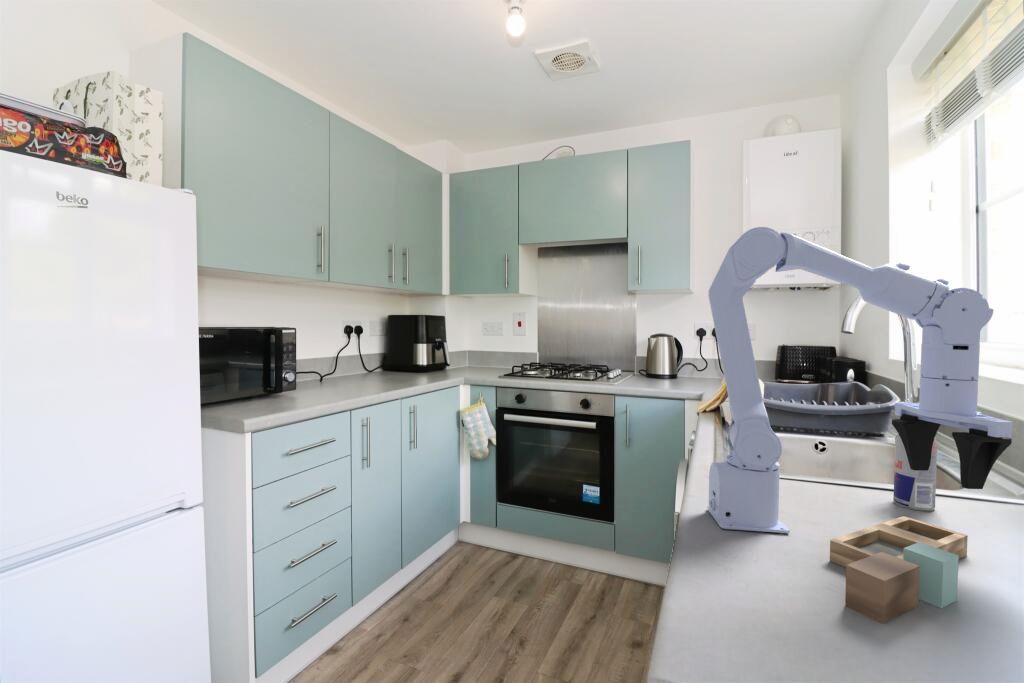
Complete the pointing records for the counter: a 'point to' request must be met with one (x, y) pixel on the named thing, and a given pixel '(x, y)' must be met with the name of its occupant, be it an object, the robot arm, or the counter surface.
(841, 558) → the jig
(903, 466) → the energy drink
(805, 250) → the robot arm
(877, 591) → the tan cardboard box
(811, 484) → the counter surface
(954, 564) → the block
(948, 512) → the counter surface
